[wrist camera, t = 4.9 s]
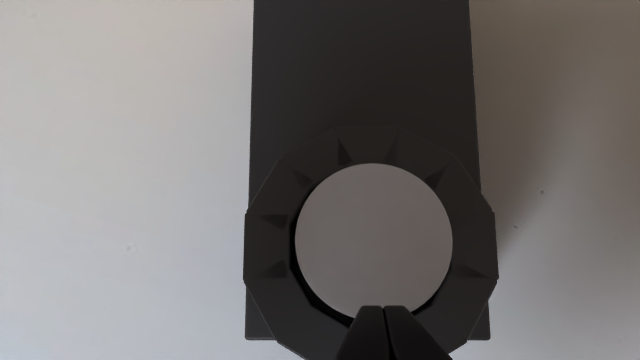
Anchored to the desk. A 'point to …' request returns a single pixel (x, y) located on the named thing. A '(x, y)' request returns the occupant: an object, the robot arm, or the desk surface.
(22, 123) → the desk surface
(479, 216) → the push button base
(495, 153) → the desk surface
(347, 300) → the gray round disc
